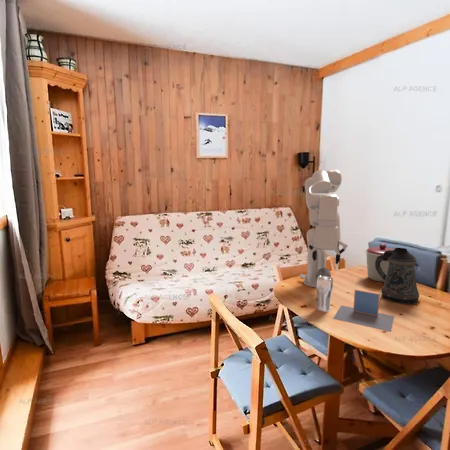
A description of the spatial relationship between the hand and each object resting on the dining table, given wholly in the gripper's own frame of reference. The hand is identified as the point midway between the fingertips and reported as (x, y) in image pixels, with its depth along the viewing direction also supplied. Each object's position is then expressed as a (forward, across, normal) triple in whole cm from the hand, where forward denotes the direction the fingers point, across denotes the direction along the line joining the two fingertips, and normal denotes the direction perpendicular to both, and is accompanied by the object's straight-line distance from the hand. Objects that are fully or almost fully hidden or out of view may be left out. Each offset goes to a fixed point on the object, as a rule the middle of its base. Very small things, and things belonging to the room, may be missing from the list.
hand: (325, 261), depth 142 cm
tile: (+22, +17, +6) cm, 28 cm away
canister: (+22, +17, +60) cm, 66 cm away
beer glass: (+23, 0, 0) cm, 23 cm away
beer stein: (+23, +27, +32) cm, 48 cm away
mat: (+23, +17, 0) cm, 28 cm away
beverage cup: (+23, -4, +14) cm, 27 cm away
